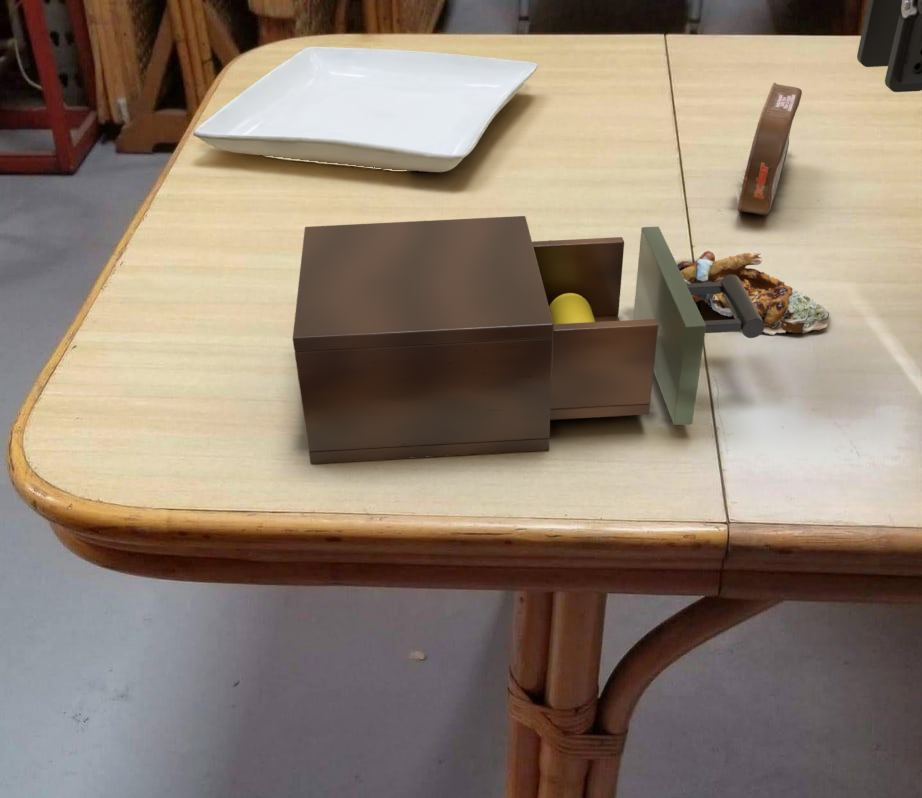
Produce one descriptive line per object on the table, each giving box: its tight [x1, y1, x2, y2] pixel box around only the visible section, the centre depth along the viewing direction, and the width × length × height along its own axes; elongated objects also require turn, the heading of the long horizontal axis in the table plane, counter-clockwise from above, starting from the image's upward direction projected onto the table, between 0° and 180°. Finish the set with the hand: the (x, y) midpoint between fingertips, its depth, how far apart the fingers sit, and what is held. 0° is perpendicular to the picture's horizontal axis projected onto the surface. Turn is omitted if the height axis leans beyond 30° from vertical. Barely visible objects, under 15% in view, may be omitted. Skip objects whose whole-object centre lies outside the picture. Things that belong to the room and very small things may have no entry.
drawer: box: [532, 226, 765, 426], centre depth 69 cm, size 18×14×7 cm
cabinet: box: [292, 215, 554, 465], centre depth 69 cm, size 15×15×9 cm
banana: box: [549, 293, 595, 324], centre depth 70 cm, size 3×9×3 cm, turn 4°
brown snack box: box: [737, 82, 803, 216], centre depth 92 cm, size 15×3×8 cm, turn 161°
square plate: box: [192, 46, 539, 173], centre depth 108 cm, size 27×27×4 cm
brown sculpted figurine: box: [677, 250, 830, 336], centre depth 78 cm, size 7×12×4 cm, turn 71°
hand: (890, 74), depth 60 cm, fingers open, 4 cm apart
